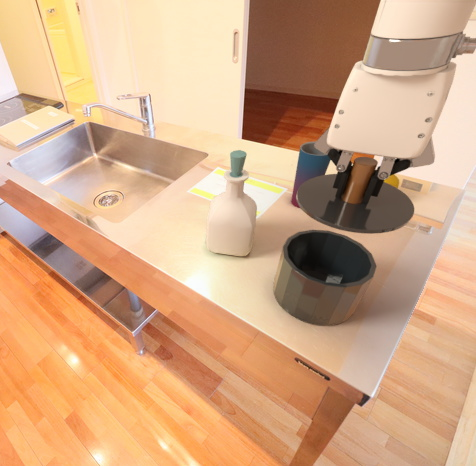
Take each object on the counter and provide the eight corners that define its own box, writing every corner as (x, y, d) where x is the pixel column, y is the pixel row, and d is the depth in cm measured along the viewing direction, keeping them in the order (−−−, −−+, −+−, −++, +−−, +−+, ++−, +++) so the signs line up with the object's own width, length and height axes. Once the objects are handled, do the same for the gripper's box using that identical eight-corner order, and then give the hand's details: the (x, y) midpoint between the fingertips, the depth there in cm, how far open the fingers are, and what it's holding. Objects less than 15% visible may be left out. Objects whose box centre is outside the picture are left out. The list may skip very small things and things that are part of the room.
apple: (357, 191, 82) (368, 163, 76) (387, 193, 79) (401, 164, 74) (361, 205, 77) (373, 177, 72) (393, 208, 75) (408, 179, 70)
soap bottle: (252, 232, 75) (267, 142, 60) (249, 261, 68) (265, 167, 54) (210, 227, 78) (215, 140, 63) (204, 254, 72) (207, 164, 57)
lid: (416, 193, 47) (440, 147, 42) (403, 251, 39) (431, 202, 34) (310, 173, 54) (321, 132, 50) (282, 218, 47) (291, 175, 42)
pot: (361, 286, 60) (382, 245, 53) (344, 339, 53) (366, 300, 46) (286, 260, 67) (297, 221, 60) (262, 303, 60) (271, 265, 53)
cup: (319, 198, 81) (336, 143, 72) (314, 213, 77) (332, 157, 68) (290, 193, 85) (303, 139, 75) (284, 207, 80) (297, 152, 71)
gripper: (514, 41, 32) (428, 196, 43) (330, 44, 40) (300, 171, 52) (519, 62, 27) (423, 227, 39) (313, 60, 36) (284, 195, 48)
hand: (353, 194), depth 45 cm, fingers closed on lid, 2 cm apart
